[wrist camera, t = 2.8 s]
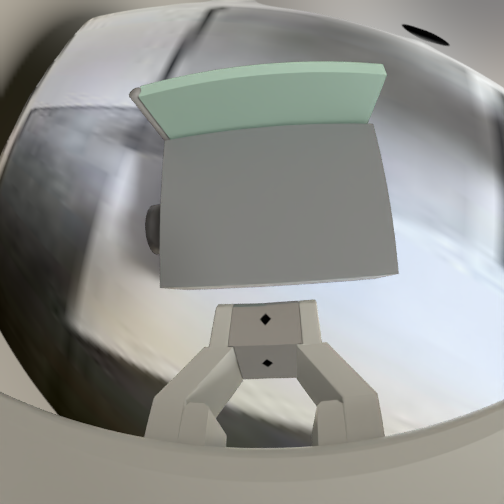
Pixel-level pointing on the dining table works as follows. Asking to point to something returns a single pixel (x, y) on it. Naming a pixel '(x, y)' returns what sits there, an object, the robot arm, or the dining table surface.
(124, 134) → the dining table surface
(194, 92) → the side door
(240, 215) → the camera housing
